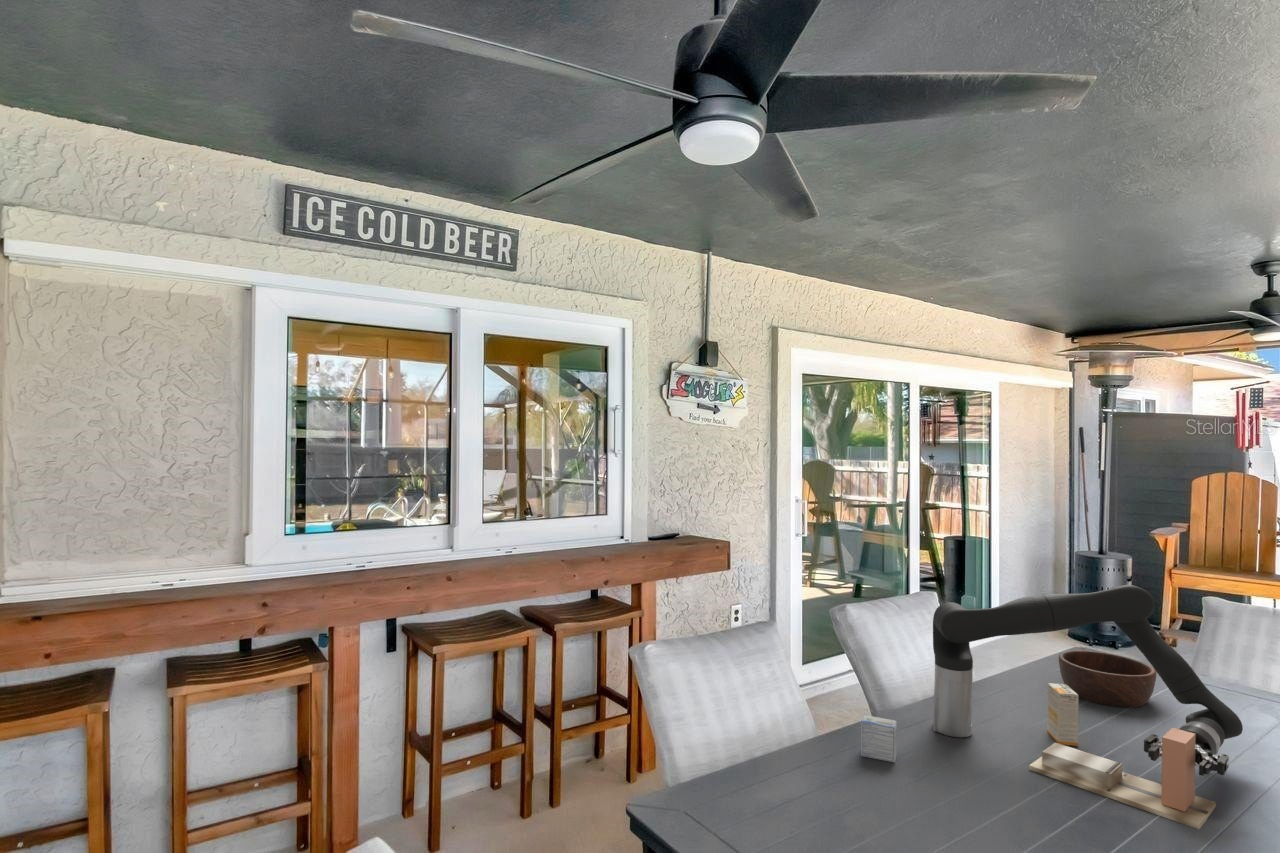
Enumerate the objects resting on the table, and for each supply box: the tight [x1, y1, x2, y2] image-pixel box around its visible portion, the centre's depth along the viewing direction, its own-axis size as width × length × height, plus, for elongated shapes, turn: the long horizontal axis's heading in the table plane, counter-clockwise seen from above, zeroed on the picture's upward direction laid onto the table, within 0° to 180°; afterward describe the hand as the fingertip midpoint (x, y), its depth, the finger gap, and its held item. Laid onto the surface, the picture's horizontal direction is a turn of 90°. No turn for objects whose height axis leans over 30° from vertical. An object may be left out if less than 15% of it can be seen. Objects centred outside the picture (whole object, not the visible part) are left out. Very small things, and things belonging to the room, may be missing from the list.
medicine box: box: [860, 715, 898, 763], centre depth 171 cm, size 8×4×9 cm, turn 65°
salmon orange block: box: [1161, 727, 1196, 812], centre depth 150 cm, size 4×8×14 cm, turn 130°
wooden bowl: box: [1058, 649, 1158, 708], centre depth 216 cm, size 25×25×10 cm
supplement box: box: [1046, 682, 1079, 747], centre depth 184 cm, size 8×5×13 cm, turn 168°
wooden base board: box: [1028, 742, 1217, 830], centre depth 158 cm, size 32×14×4 cm, turn 40°
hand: (1176, 763), depth 149 cm, fingers open, 8 cm apart
